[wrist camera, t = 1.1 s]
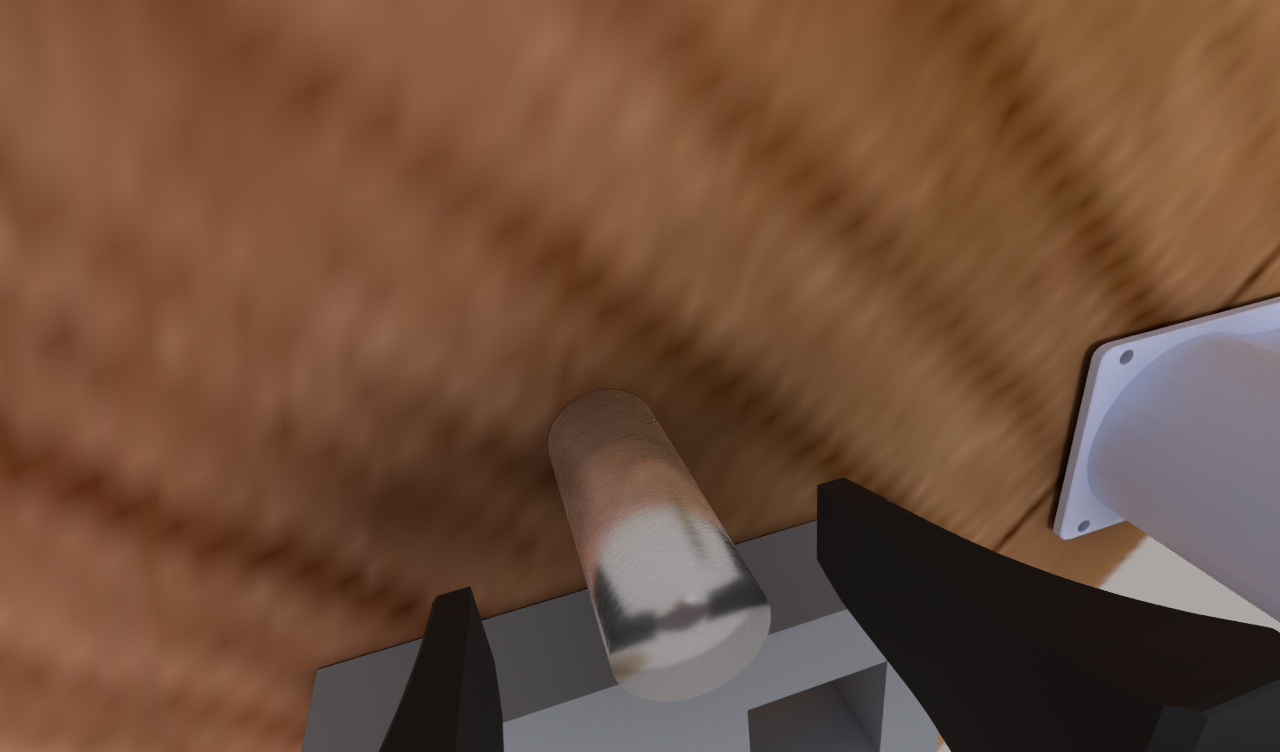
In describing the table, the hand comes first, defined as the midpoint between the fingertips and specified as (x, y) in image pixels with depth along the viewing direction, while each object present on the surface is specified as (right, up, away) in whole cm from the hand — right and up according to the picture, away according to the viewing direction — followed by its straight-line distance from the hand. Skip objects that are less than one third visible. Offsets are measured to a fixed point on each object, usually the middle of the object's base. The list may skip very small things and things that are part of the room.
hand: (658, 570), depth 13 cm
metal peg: (-1, +2, +5) cm, 5 cm away
